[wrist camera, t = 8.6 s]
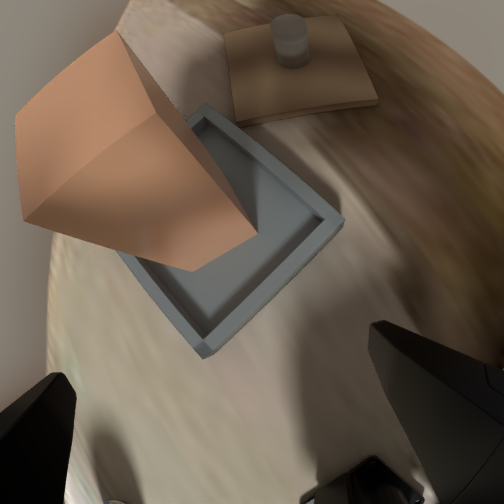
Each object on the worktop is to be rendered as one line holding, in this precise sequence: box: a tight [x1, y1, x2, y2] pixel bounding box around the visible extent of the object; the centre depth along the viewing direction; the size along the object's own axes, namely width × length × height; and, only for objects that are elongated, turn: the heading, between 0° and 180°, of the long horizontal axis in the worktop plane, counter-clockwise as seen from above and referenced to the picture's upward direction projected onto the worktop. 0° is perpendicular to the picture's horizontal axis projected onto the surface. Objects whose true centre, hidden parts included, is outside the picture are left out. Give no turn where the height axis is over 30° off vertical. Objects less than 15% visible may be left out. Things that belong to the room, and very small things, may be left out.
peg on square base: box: [224, 14, 379, 128], centre depth 19 cm, size 10×10×4 cm
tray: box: [116, 103, 345, 359], centre depth 19 cm, size 12×11×2 cm
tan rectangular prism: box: [15, 30, 258, 272], centre depth 14 cm, size 6×5×13 cm
